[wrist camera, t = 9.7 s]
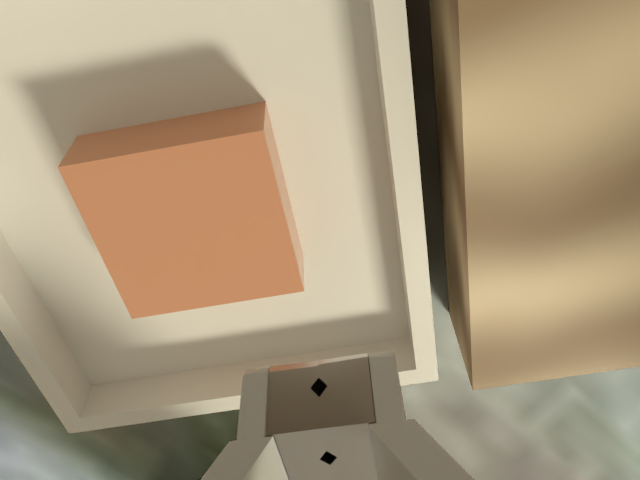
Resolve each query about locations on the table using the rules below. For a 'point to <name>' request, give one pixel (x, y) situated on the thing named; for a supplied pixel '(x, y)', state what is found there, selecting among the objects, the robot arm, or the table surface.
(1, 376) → the table surface
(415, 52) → the table surface
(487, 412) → the table surface
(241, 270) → the tile
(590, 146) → the block
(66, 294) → the box
